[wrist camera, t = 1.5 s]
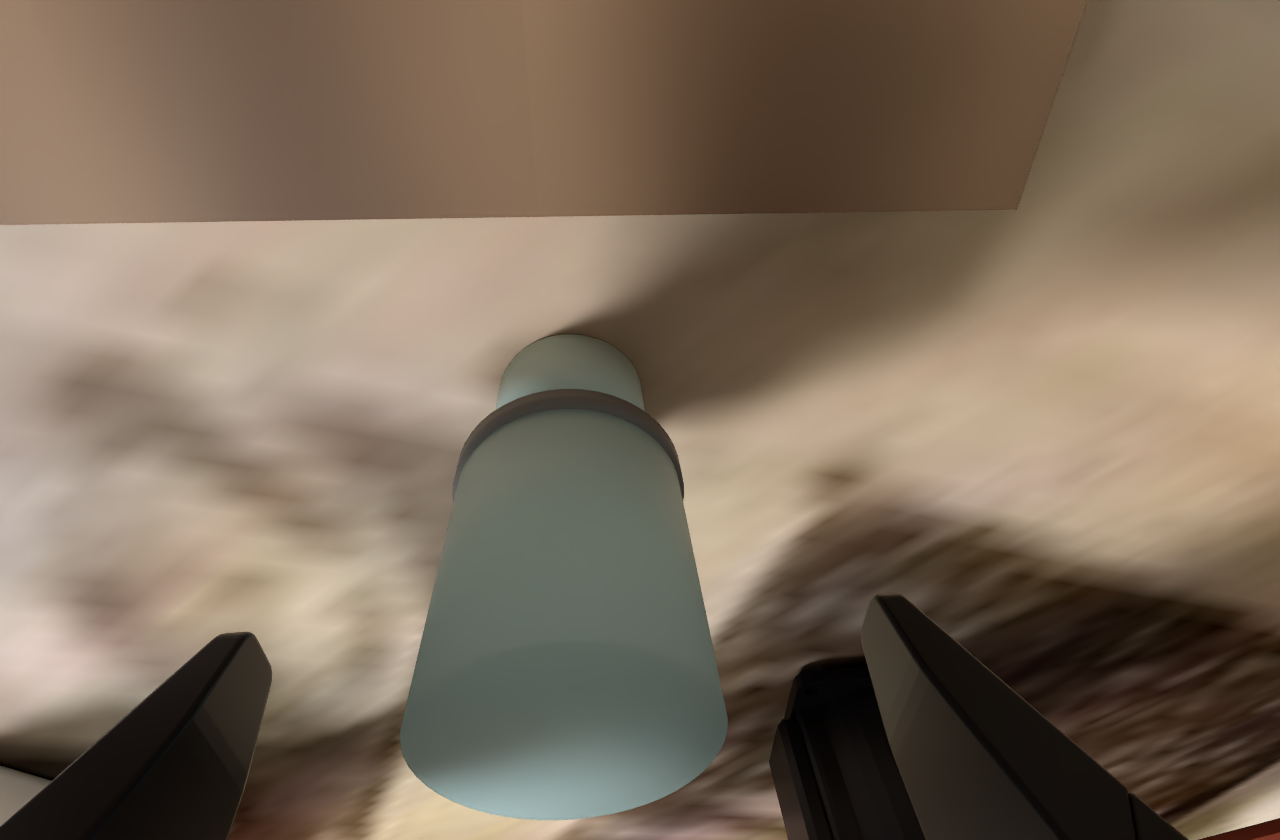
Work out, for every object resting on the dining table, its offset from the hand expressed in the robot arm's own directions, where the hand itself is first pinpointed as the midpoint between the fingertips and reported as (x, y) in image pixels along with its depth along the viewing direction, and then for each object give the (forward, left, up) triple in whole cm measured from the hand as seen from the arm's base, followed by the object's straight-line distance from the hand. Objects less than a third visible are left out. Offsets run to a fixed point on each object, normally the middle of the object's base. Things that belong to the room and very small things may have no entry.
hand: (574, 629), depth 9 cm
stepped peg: (0, 0, -6) cm, 6 cm away
